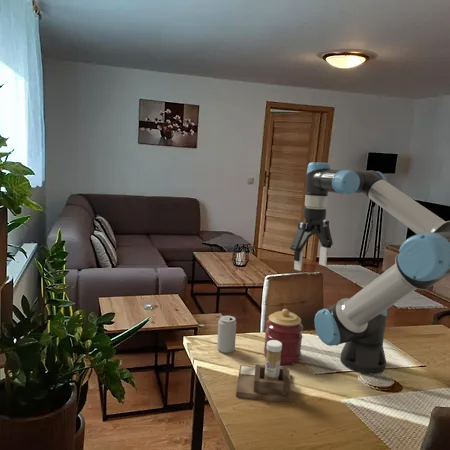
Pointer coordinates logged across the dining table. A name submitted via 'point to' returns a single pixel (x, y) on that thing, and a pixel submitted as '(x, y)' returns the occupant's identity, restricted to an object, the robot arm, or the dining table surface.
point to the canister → (285, 335)
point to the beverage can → (226, 334)
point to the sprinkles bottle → (273, 360)
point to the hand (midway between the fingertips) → (310, 267)
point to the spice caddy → (263, 384)
